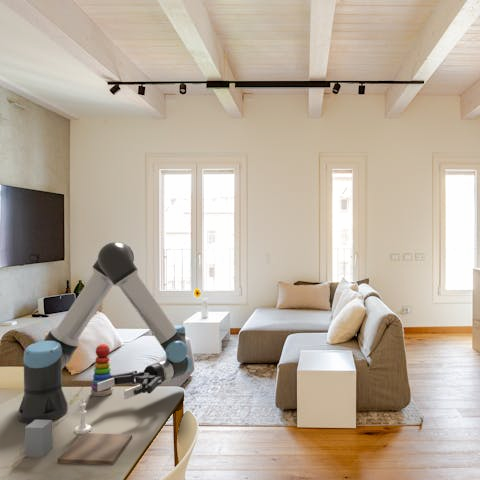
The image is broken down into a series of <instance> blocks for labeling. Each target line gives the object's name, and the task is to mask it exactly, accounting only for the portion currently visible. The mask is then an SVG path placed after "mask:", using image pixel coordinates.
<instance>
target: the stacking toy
mask: <svg viewBox="0 0 480 480" xmlns="http://www.w3.org/2000/svg"><path fill="white" fill-rule="evenodd" d="M95 354H96V356H97V357H96V359H95V363H94V369H93V371H94V373H93V379H92V384H91V390H90V394H91V395H92V396H94V397H104V396H109V395H111V394H112V393H113V390H114V389H113V388H114V387H110V388H107V389H105V390H102V391H97V383H99V382H102V381H105V380H108V379H110V376H111V375H112V372H111V367H110V364H111V363H110V357H109V356H108V355H109V354H110V347H109V346H108V345H107V344H105V343H104V344H103V343H102V344H99V345H98V346H97V347H96V349H95Z"/></svg>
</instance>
